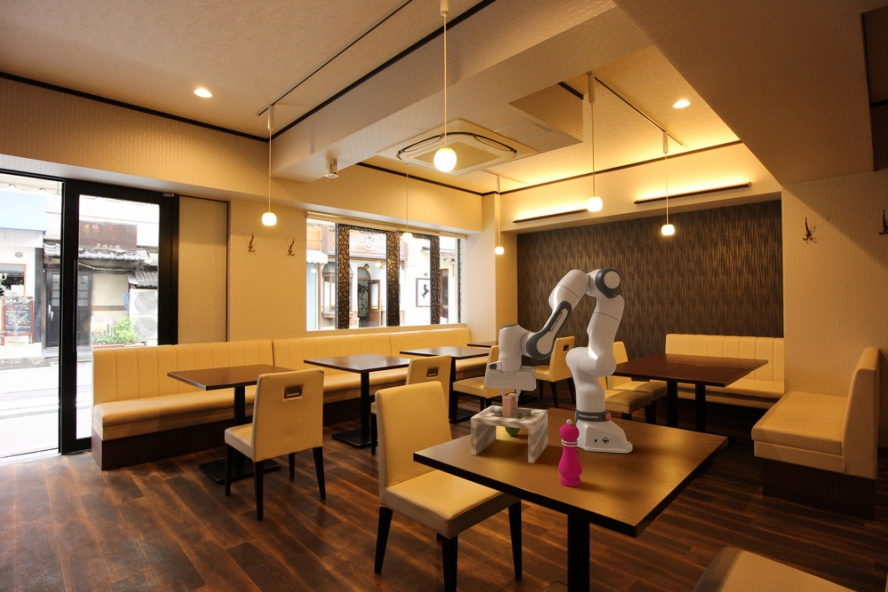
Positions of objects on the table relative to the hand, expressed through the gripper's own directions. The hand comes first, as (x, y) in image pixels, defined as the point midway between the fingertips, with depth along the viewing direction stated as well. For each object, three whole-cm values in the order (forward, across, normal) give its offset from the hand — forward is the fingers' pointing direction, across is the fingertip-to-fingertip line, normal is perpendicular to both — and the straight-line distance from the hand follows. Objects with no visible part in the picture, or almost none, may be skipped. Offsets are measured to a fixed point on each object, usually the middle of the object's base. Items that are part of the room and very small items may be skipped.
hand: (510, 400), depth 179 cm
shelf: (+19, 0, 0) cm, 19 cm away
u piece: (+9, 0, 0) cm, 9 cm away
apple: (+19, +5, -20) cm, 28 cm away
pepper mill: (+19, -27, +26) cm, 42 cm away
